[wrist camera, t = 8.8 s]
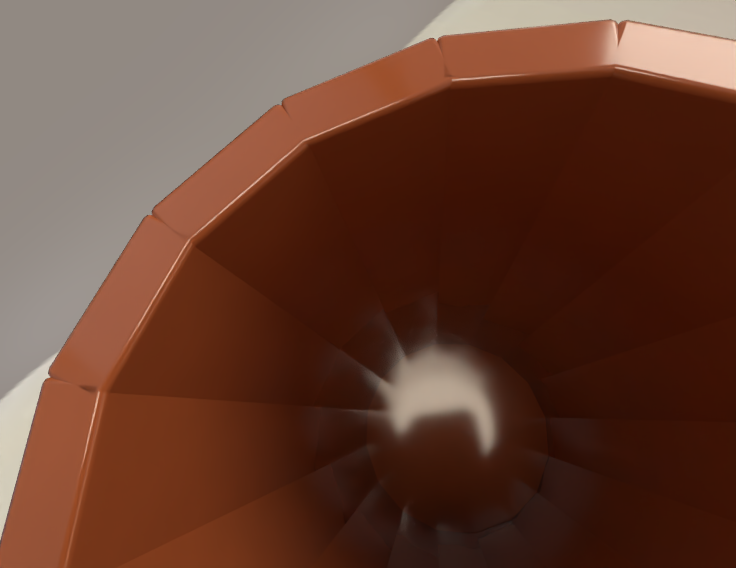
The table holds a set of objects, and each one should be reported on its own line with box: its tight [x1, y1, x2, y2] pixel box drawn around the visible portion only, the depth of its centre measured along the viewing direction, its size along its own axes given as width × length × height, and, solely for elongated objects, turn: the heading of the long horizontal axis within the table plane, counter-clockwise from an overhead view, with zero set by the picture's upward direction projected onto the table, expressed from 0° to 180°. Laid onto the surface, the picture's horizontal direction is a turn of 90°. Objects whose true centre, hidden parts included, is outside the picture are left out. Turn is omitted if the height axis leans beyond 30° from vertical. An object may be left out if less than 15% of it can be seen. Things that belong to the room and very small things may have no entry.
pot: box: [0, 19, 736, 568], centre depth 8 cm, size 7×7×12 cm
